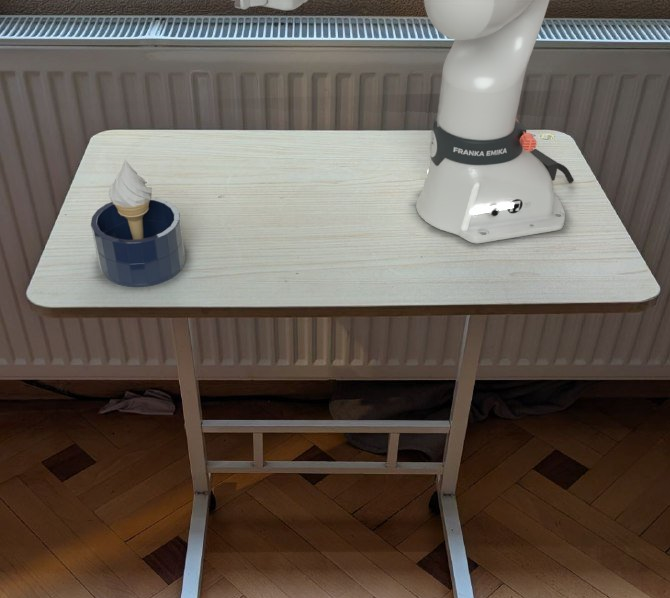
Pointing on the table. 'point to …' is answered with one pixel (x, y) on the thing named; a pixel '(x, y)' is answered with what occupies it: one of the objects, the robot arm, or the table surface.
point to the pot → (139, 245)
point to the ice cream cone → (131, 198)
